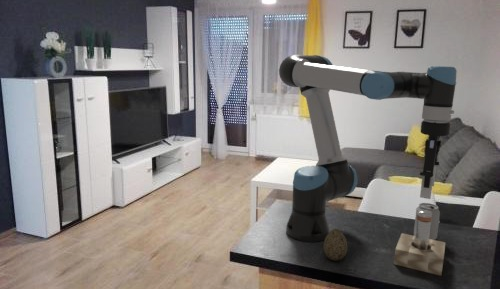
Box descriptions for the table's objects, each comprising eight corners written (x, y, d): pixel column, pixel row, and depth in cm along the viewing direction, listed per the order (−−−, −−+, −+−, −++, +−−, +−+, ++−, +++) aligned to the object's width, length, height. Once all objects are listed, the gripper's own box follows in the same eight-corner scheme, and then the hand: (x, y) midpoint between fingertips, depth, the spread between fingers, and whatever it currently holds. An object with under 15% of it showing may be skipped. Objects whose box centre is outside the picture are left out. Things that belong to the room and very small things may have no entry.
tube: (411, 261, 119) (416, 212, 116) (412, 256, 123) (418, 208, 120) (425, 265, 118) (431, 215, 114) (426, 259, 121) (432, 211, 118)
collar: (393, 264, 118) (395, 248, 117) (400, 247, 129) (401, 233, 128) (441, 275, 112) (443, 259, 111) (443, 257, 123) (445, 242, 122)
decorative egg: (346, 266, 116) (348, 235, 114) (322, 263, 117) (324, 232, 115) (346, 255, 122) (348, 225, 120) (323, 252, 124) (325, 223, 122)
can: (439, 243, 132) (443, 210, 130) (415, 241, 134) (419, 208, 131) (433, 234, 140) (437, 202, 137) (411, 232, 141) (414, 200, 139)
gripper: (448, 127, 99) (438, 206, 103) (451, 117, 121) (443, 182, 125) (417, 125, 103) (408, 201, 107) (425, 115, 124) (418, 179, 128)
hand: (427, 191), depth 116 cm, fingers open, 13 cm apart
